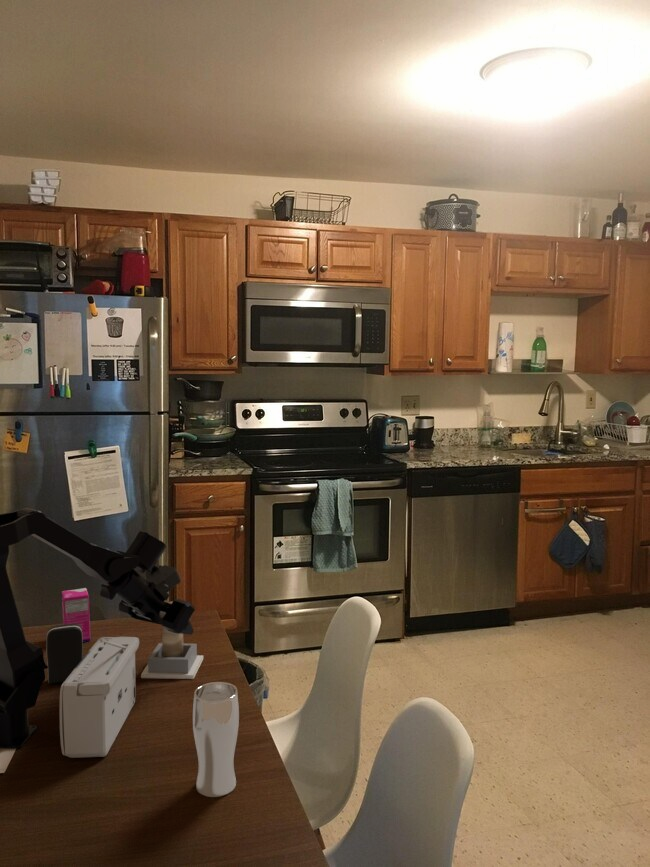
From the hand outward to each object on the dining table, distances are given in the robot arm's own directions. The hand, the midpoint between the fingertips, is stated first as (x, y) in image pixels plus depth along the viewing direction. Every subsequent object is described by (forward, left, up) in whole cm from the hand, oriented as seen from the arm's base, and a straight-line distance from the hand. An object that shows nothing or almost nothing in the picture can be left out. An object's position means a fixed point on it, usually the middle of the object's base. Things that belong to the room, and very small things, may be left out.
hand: (177, 627), depth 144 cm
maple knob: (-1, +1, -8) cm, 8 cm away
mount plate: (-1, +1, -9) cm, 9 cm away
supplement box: (+14, +28, -9) cm, 32 cm away
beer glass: (-42, -16, -9) cm, 46 cm away
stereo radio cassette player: (-26, +7, -9) cm, 29 cm away
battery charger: (-7, +22, -9) cm, 25 cm away
